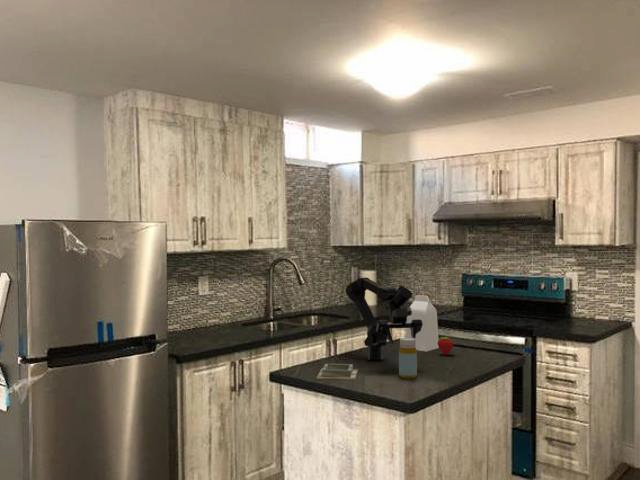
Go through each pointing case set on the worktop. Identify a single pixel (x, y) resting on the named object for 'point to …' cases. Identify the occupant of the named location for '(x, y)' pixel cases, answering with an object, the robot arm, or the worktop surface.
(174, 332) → the worktop surface
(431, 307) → the milk
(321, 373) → the square rimmed tray
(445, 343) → the strawberry
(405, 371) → the bottle
